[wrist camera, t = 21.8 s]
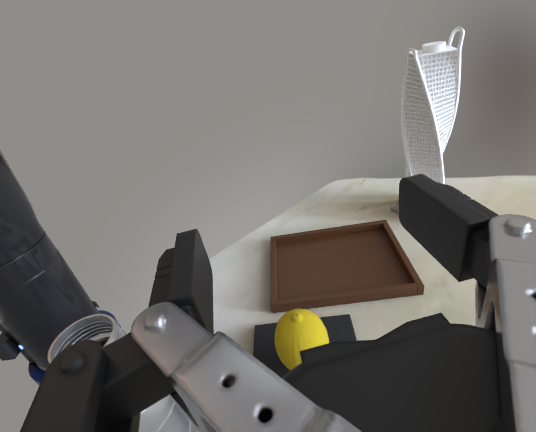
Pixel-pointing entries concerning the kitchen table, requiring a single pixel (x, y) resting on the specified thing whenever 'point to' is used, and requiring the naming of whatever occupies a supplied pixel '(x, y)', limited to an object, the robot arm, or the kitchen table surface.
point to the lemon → (298, 335)
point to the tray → (339, 267)
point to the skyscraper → (429, 106)
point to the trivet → (265, 340)
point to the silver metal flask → (105, 332)
